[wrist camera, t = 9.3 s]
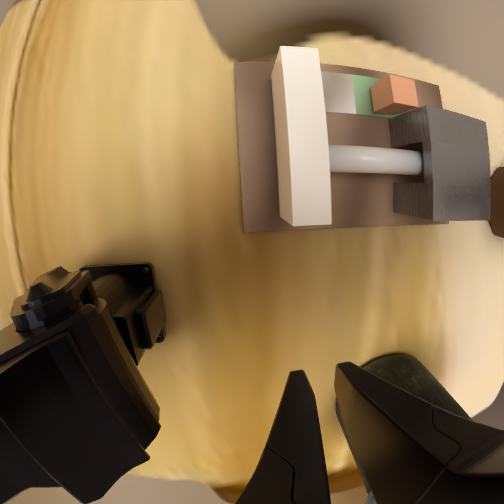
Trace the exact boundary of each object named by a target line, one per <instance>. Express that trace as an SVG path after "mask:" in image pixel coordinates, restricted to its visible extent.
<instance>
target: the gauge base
mask: <svg viewBox="0 0 504 504" xmlns="http://www.w3.org/2000/svg"><path fill="white" fill-rule="evenodd" d="M274 65H275V62H235V63H234V67H235V87H236V106H237V124H238V142H239V159H240V177H241V193H242V210H243V226H244V233H254V232H270V231H287V230H305V229H325V228H345V227H368V226H394V225H424V224H449V221H431V220H427V219H422V218H418V217H413V216H409V215H404V214H400V213H395V212H393V182H397V183H425V178H424V172H423V174H422V175H419V176H418V175H403V174H383V173H348V172H330V183H331V216H332V224H329V225H308V226H292V225H291V224H289V223H288V222H286V221H285V220H284V219H282V218H281V217H280V206H279V185H278V167H277V150H276V135H275V120H274V107H273V94H272V81H271V74H272V71H273V68H274ZM320 69H321V76H322V84H323V92H324V102H325V111H326V122H327V134H328V145H349V146H367V147H381V148H391V143H390V132H389V122H388V119H390V118H393V117H395V116H398V115H391V114H384V113H376V112H374V110H373V102H372V95H371V88H370V87H371V86H373V85H374V84H376V83H377V82H379V81H380V80H382V79H383V78H385V77H386V76H388V75H389V74H390V73H385V72H379V71H374V70H368V69H362V68H355V67H348V66H339V65H330V64H320ZM390 75H394V74H390ZM395 76H399V75H395ZM400 77H403V76H400ZM404 78H408V77H404ZM408 79H412V78H408ZM413 80H414V82H415V87H416V93H417V99H418V105H419V107H422V106H425V105H429V106H433V107H437V108H441V109H443V108H442V101H441V96H440V90H439V86H437V85H434V84H431V83H427V82H423V81H420V80H416V79H413ZM419 107H418V108H419ZM415 109H416V108H415ZM412 110H414V109H412ZM410 111H411V110H410ZM407 112H408V111H407ZM404 113H406V112H404ZM402 114H403V113H402ZM399 115H400V114H399ZM393 149H400V148H393ZM403 150H409V149H403ZM412 151H418V150H412ZM419 152H421V153H422V154H423V151H419Z"/></svg>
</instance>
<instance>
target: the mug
mask: <svg viewBox="0 0 504 504" xmlns="http://www.w3.org/2000/svg"><path fill="white" fill-rule="evenodd" d="M363 369H365V370H366V371H368V372H370V373H372V374H374V375H376V376H378V377H380V378H381V379H383V380H385V381H387V382H389V383H391V384H393V385H395V386H397V387H399V388H401V389H403V390H405V391H407V392H409V393H411V394H412V395H414V396H416V397H418V398H420V399H423V400H425V401H427V402H429V403H431V404H432V405H433V406H434V405H435V406H437V407H439V408H441V409H443V410H446V411H448V412H450V413H452V414H455V415H457V416H460V417H462V418H465V419H468V420H471V421H473V420H472V419H471V418H470V417H469V415H468V414H467V413H466V412H465V411H464V410H463V409H462V407H461V406H460V405H459V404H458V403H457V402H456V401H455V400H454V398H453V397H452V396H451V395H450V394H449V393H448V392H447V391H446V389H445V388H444V387H443V386H442V385H441V384H440V383H439V382H438V381H437V380H436V378H435V377H434V376H433V375H432V374H431V373H430V372H429V371H428V370H427V369H426V368H425V367H424V365H423V364H422V363H421V362H420V361H419V360H418V359H416V358H414V357H412V356H408V355H391V356H386V357H383V358H380V359H378V360H375V361H373V362H371V363H370V364H368V365H366V366H365V367H363ZM336 415H337V417H338V420H339V422H340V425H341V427H342V430H343V432H344V434H345V437H346V439H347V442H348V444H349V447H350V449H351V452H352V454H353V457H354V459H355V462H356V464H357V467H358V469H359V472H360V475H361V477H362V480H363V482H364V485H365V487H366V490H367V493H368V496H367V498H366V504H377V503H376V501H375V498H374V496H373V493H372V491H371V488H370V486H369V484H368V481H367V479H366V476H365V474H364V472H363V469H362V467H361V464H360V462H359V460H358V457H357V455H356V452H355V450H354V448H353V445H352V443H351V441H350V438H349V436H348V433H347V431H346V428H345V425H344V421H343V417H342V414H341V410H340V406H339V403H338V401H337V404H336ZM480 424H481V423H480Z"/></svg>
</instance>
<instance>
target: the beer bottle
mask: <svg viewBox="0 0 504 504" xmlns="http://www.w3.org/2000/svg"><path fill="white" fill-rule="evenodd" d="M489 223H490V226H491V228H492V231H493V233H494V234H495V235H497V236H499V237H502V238H504V167H499V168H498V169H497V170H496V172H495V173H494V175H493V176H492V178H491V209H490V220H489Z"/></svg>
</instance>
